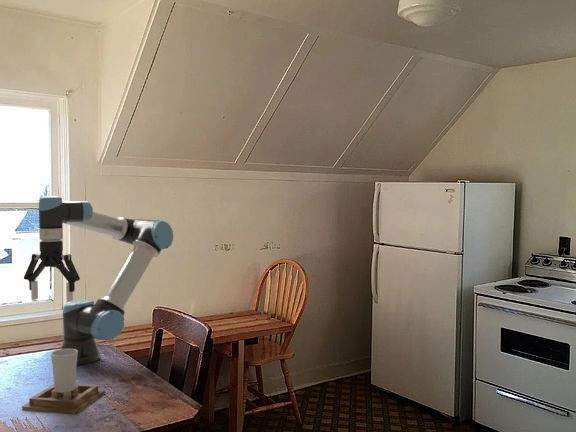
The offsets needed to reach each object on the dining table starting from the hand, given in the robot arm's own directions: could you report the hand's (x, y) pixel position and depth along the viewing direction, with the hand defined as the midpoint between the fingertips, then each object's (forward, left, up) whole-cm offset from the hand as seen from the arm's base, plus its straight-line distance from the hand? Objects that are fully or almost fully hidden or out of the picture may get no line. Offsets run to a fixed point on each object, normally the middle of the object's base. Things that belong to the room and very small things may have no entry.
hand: (52, 300), depth 203 cm
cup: (+17, +15, -25) cm, 34 cm away
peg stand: (+17, +15, -29) cm, 37 cm away
